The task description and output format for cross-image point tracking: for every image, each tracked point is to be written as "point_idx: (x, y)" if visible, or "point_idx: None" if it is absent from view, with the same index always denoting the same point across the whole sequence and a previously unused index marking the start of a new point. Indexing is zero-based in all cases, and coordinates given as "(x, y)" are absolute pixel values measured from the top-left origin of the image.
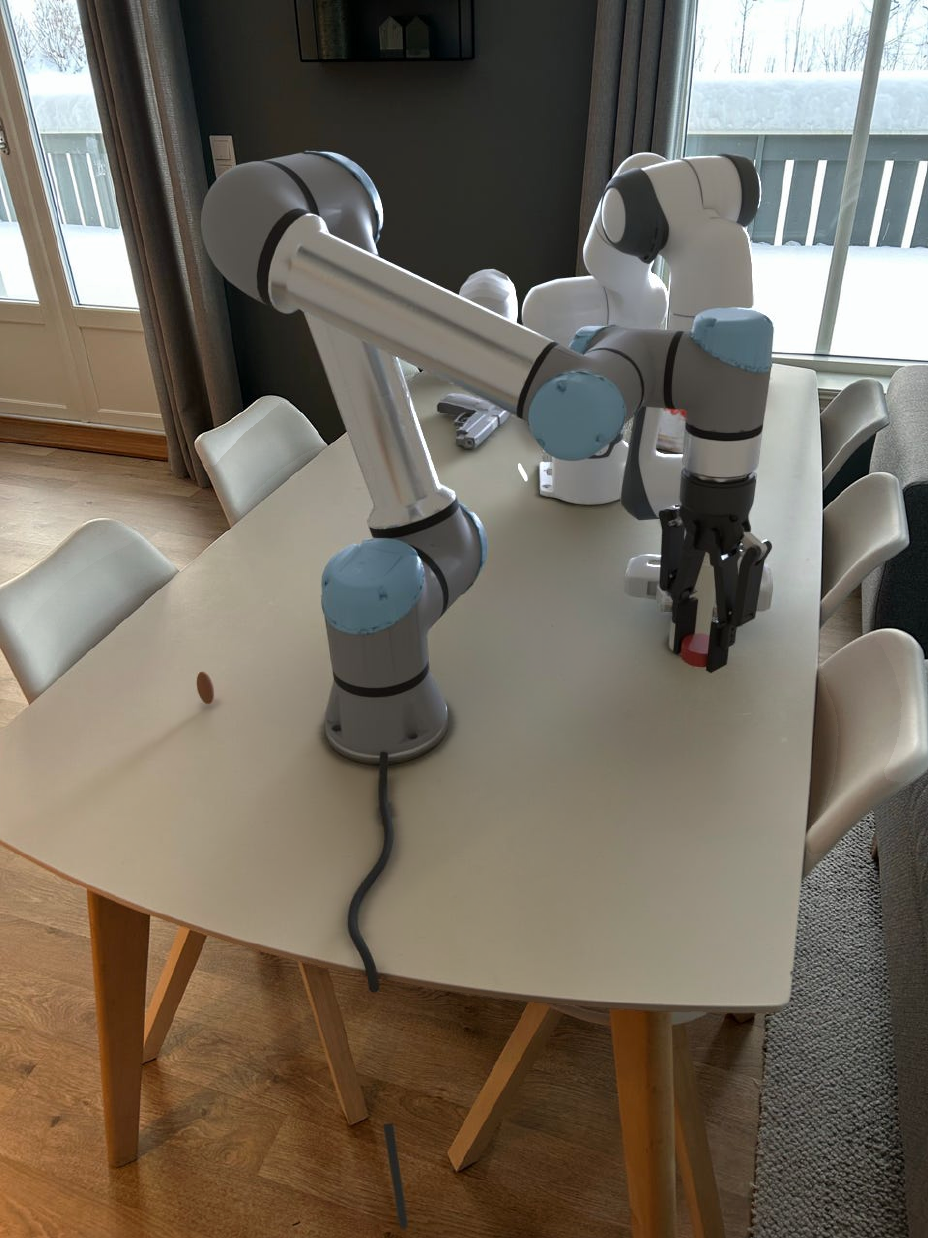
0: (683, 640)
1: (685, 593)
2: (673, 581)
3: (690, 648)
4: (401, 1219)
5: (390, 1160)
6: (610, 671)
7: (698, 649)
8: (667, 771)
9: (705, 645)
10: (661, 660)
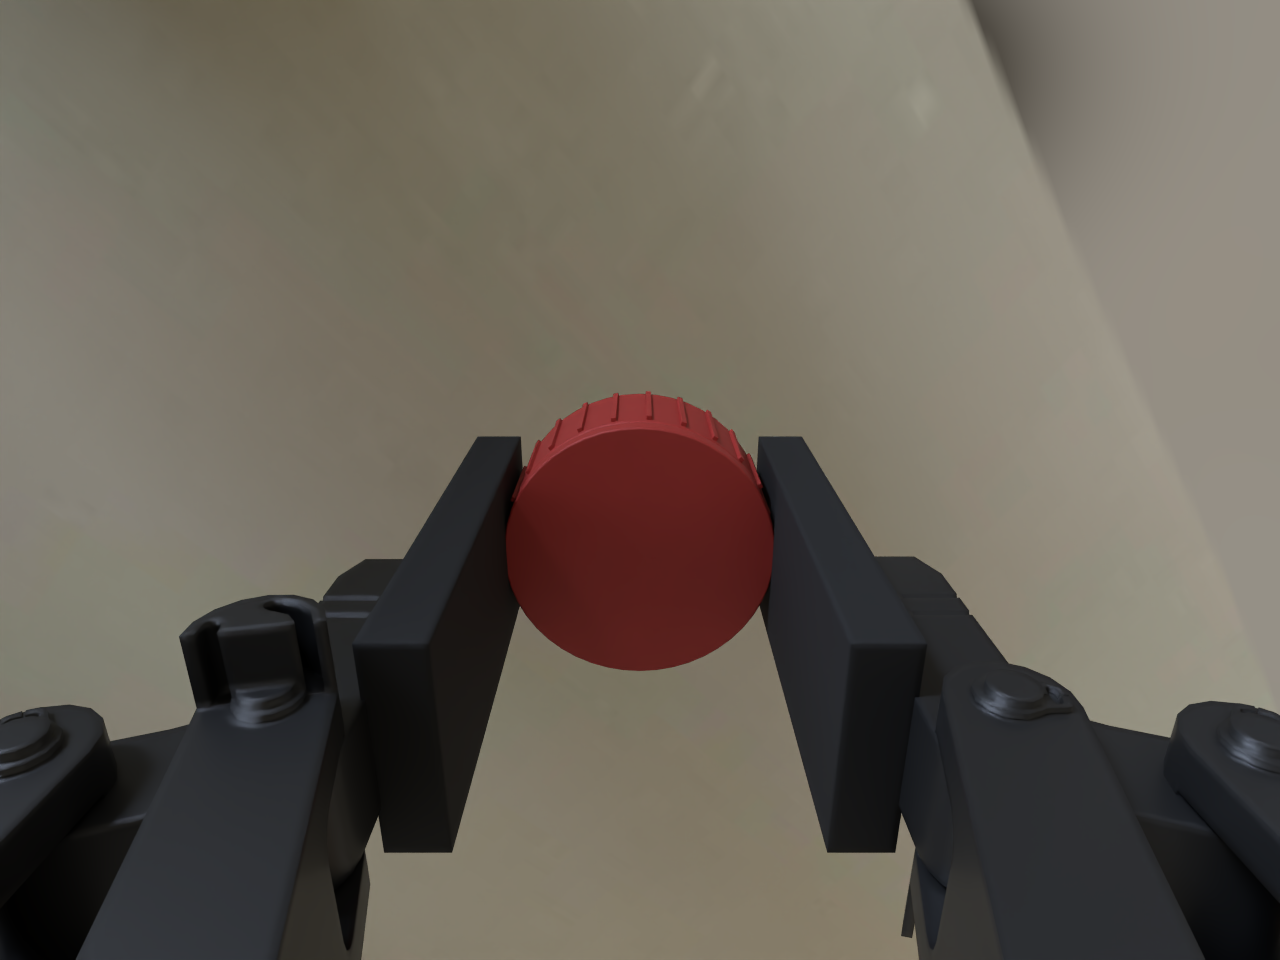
0: (535, 619)
1: (337, 828)
2: (88, 912)
3: (634, 650)
4: None
5: None
6: (122, 320)
7: (680, 625)
8: None
9: (679, 559)
10: (154, 53)
